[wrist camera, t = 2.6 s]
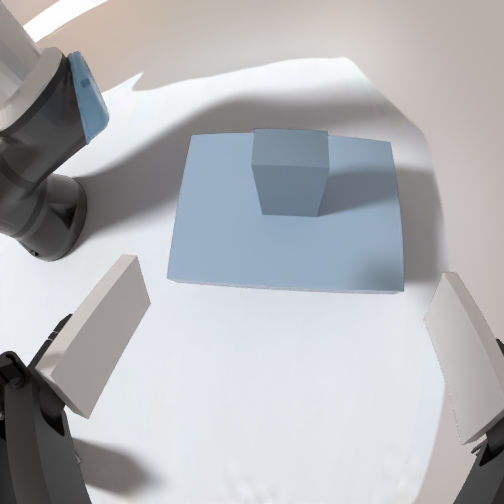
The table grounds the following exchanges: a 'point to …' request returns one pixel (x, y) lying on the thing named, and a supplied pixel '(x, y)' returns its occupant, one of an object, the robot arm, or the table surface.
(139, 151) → the table surface
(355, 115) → the table surface
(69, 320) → the robot arm
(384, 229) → the lid
